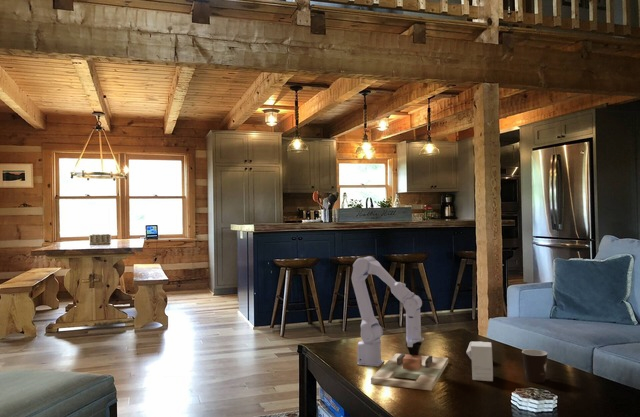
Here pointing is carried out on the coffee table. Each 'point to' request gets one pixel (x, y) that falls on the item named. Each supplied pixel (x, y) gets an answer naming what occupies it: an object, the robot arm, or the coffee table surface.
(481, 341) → the die
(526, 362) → the coffee mug
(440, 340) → the coffee table surface
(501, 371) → the coffee table surface
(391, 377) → the deck
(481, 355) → the supplement box
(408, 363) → the block
